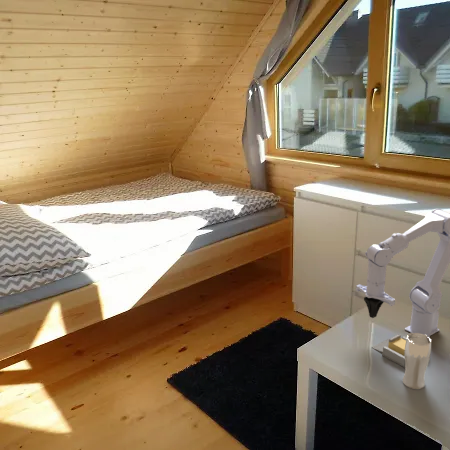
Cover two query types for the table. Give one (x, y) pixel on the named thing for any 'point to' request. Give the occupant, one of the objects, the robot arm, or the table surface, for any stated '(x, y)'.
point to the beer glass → (416, 359)
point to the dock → (390, 352)
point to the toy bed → (397, 344)
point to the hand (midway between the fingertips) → (373, 316)
